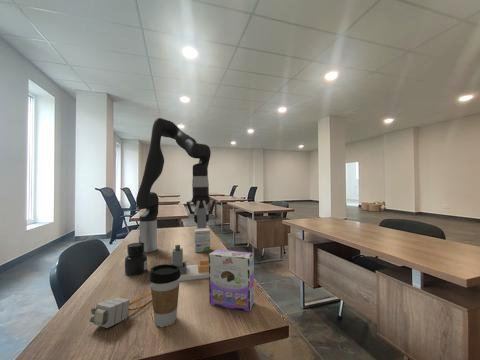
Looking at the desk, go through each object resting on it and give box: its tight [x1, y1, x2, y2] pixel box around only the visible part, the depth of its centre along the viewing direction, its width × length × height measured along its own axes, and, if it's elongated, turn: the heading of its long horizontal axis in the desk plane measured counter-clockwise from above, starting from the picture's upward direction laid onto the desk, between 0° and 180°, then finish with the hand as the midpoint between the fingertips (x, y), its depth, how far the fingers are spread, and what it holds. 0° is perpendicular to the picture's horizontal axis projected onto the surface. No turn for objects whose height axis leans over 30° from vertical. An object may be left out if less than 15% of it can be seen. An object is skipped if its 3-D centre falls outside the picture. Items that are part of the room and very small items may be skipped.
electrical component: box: [89, 292, 152, 329], centre depth 70 cm, size 24×6×5 cm, turn 161°
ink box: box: [193, 228, 211, 253], centre depth 127 cm, size 8×5×12 cm, turn 106°
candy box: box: [208, 249, 255, 312], centre depth 72 cm, size 14×6×16 cm, turn 71°
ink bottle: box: [124, 241, 148, 277], centre depth 98 cm, size 10×9×12 cm
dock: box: [169, 244, 209, 282], centre depth 96 cm, size 23×12×12 cm, turn 103°
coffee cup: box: [149, 263, 181, 327], centre depth 64 cm, size 8×8×15 cm
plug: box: [196, 207, 207, 229], centre depth 105 cm, size 4×4×11 cm
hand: (201, 222), depth 105 cm, fingers closed on plug, 4 cm apart
